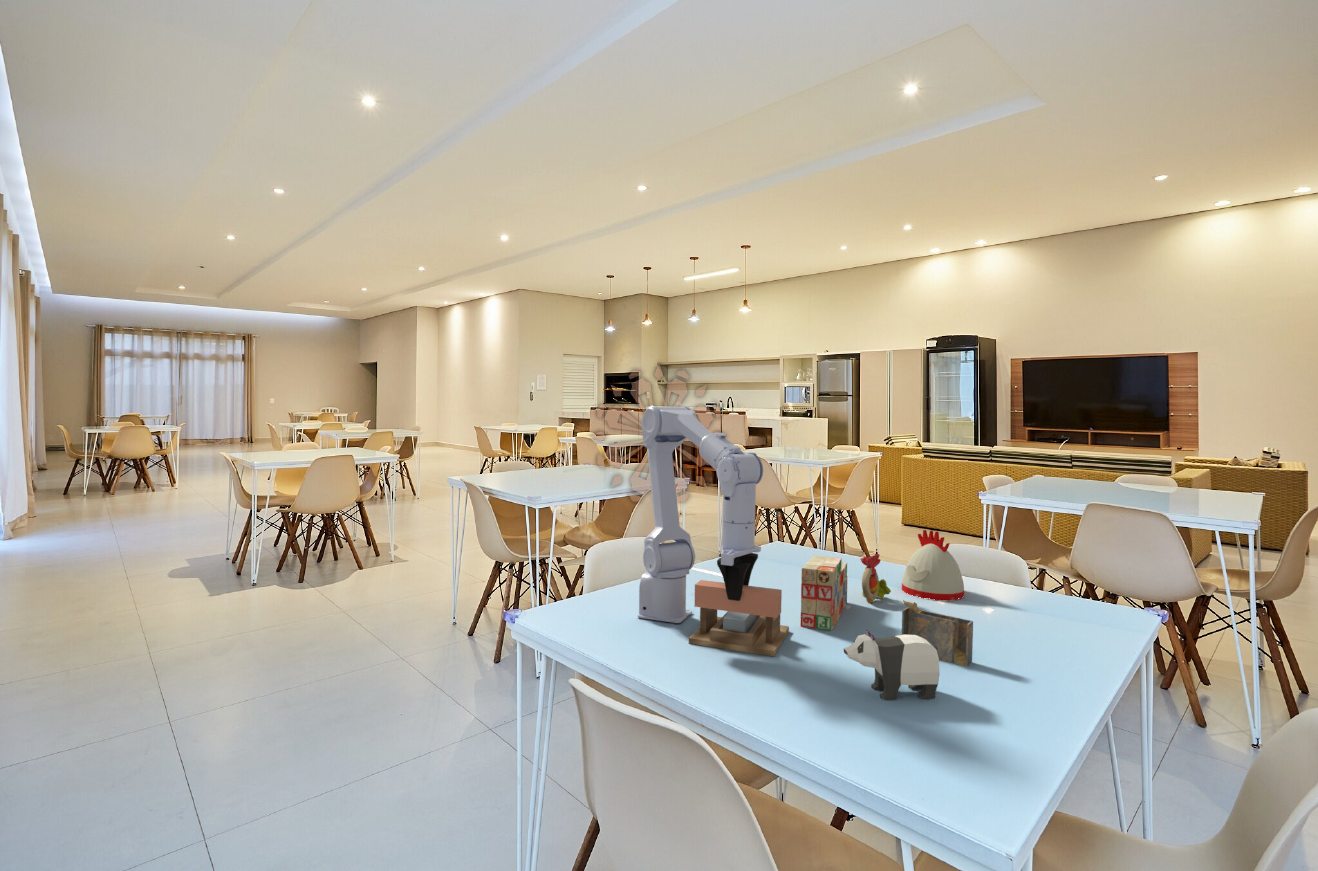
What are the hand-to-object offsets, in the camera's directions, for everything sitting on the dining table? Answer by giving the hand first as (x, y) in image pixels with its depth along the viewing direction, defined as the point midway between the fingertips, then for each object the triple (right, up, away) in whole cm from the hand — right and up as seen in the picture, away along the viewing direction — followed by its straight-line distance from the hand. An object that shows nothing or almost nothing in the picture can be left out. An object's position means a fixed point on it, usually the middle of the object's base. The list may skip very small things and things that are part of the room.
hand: (737, 596), depth 113 cm
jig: (+2, -10, +8) cm, 13 cm away
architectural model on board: (+35, -11, 0) cm, 37 cm away
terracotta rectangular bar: (0, -2, 0) cm, 2 cm away
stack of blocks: (+22, -10, +23) cm, 33 cm away
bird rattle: (+35, -10, +33) cm, 49 cm away
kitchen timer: (+52, -10, +40) cm, 67 cm away
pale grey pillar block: (+1, -9, +8) cm, 12 cm away
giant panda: (+22, -11, -15) cm, 29 cm away
